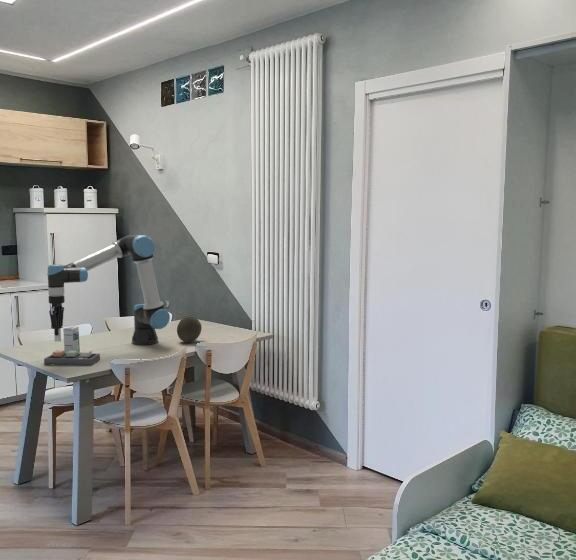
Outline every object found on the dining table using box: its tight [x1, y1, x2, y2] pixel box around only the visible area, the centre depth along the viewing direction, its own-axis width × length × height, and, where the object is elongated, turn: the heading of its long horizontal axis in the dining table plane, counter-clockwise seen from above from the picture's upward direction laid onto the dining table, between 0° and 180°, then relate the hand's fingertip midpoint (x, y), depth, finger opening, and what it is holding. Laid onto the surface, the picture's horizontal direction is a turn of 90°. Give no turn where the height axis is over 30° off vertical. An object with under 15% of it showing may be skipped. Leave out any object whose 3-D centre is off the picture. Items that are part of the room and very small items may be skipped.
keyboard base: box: [43, 352, 101, 366], centre depth 302 cm, size 24×12×4 cm, turn 88°
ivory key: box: [79, 350, 93, 357], centre depth 301 cm, size 4×4×2 cm
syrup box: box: [62, 325, 81, 353], centre depth 320 cm, size 6×6×14 cm
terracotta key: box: [52, 349, 65, 356], centre depth 302 cm, size 4×4×2 cm
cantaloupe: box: [176, 316, 202, 344], centre depth 349 cm, size 14×14×15 cm
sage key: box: [66, 351, 78, 357], centre depth 302 cm, size 4×4×2 cm
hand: (57, 341), depth 301 cm, fingers closed
